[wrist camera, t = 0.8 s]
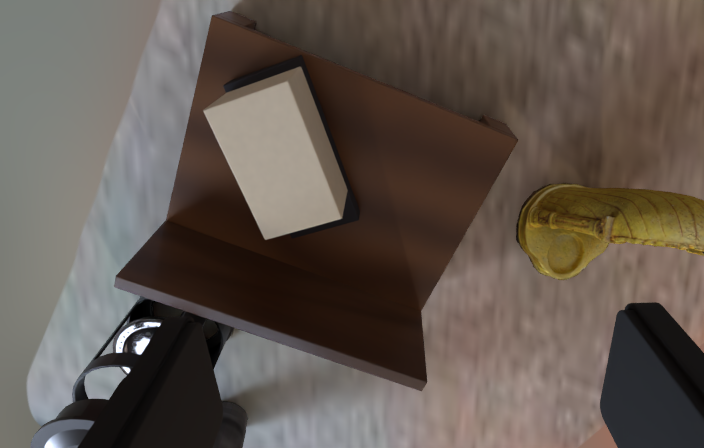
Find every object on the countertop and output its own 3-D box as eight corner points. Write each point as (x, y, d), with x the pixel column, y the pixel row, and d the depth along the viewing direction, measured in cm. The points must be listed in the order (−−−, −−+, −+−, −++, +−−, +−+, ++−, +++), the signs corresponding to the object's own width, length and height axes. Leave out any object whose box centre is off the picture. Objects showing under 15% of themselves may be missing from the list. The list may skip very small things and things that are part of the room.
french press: (202, 367, 51) (77, 629, 31) (121, 319, 49) (-70, 568, 29) (263, 297, 47) (164, 552, 26) (177, 241, 44) (-5, 472, 24)
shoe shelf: (229, 10, 35) (159, 28, 24) (506, 123, 37) (552, 185, 27) (182, 208, 43) (113, 287, 32) (414, 292, 45) (421, 391, 34)
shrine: (587, 113, 37) (700, 194, 23) (666, 169, 38) (814, 276, 25) (488, 226, 41) (534, 347, 28) (562, 272, 43) (639, 407, 30)
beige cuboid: (229, 80, 33) (198, 102, 28) (302, 54, 32) (284, 71, 27) (295, 229, 38) (279, 271, 33) (360, 211, 37) (355, 252, 32)
